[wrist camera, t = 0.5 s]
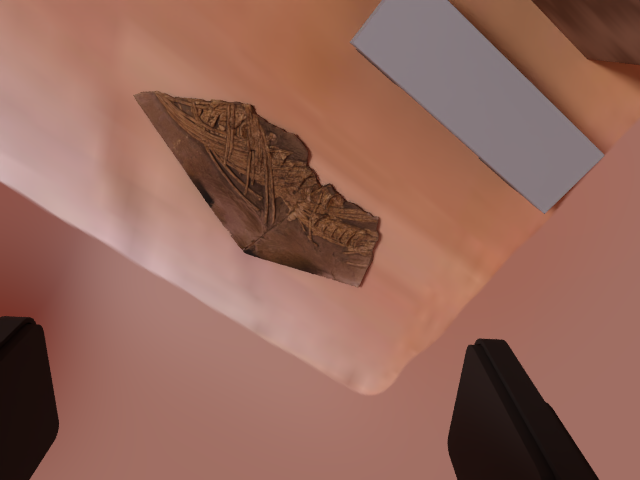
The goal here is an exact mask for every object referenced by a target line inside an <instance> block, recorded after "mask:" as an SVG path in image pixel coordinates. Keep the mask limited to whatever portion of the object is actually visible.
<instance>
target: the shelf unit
mask: <svg viewBox="0 0 640 480" xmlns="http://www.w3.org/2000/svg"><path fill="white" fill-rule="evenodd" d="M532 1H533V2H534V3H535V4H536V5H537V6H538V8H539V9H540V10H541V11H542V12H543V13H544V14H545V15H546V16H547V17H548V18H549V19H550V20H551V21H552V22H553V23H554V24H555V25H556V26H557V28H558V29H559V30H560V31H561V32H562V33H563V34H564V35H565V36H566V37H567V38H568V39H569V40H570V41H571V42H572V43H573V44H574V45H575V46H576V48H577V49H578V50H579V51H580V52H581V53H582V54H583V55H584V56H585V57H586V58H587V59H592V60H601V61H610V62H619V63H628V64H636V65H640V0H532Z"/></svg>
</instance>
